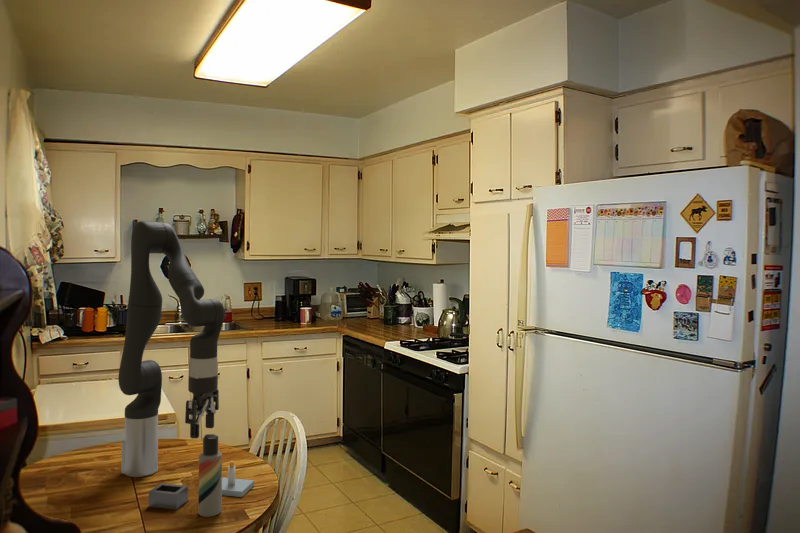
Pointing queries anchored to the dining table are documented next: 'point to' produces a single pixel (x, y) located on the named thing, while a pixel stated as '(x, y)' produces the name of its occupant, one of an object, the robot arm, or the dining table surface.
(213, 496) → the lotion bottle
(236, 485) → the grey base with peg
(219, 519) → the dining table surface
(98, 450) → the dining table surface
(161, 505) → the link
